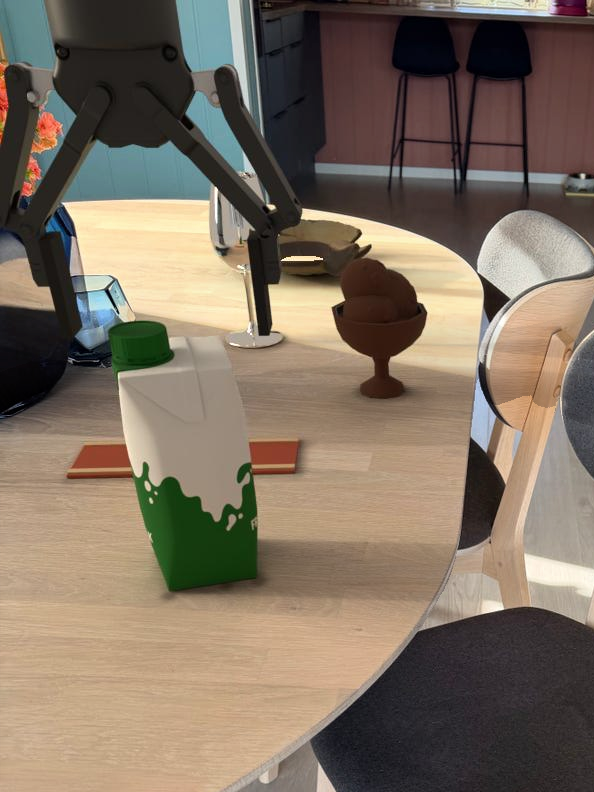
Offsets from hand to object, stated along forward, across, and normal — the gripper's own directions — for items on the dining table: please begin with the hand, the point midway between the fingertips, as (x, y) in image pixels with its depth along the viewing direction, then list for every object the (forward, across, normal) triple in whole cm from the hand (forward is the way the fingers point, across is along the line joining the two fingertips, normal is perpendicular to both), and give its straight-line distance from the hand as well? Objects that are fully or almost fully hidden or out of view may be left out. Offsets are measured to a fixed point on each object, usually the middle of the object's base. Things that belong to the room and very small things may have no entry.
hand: (170, 332), depth 67 cm
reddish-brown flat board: (+20, -5, +21) cm, 29 cm away
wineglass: (+20, -2, +58) cm, 61 cm away
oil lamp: (+19, +3, +91) cm, 93 cm away
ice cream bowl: (+20, +15, +39) cm, 46 cm away
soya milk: (+20, 0, 0) cm, 20 cm away
